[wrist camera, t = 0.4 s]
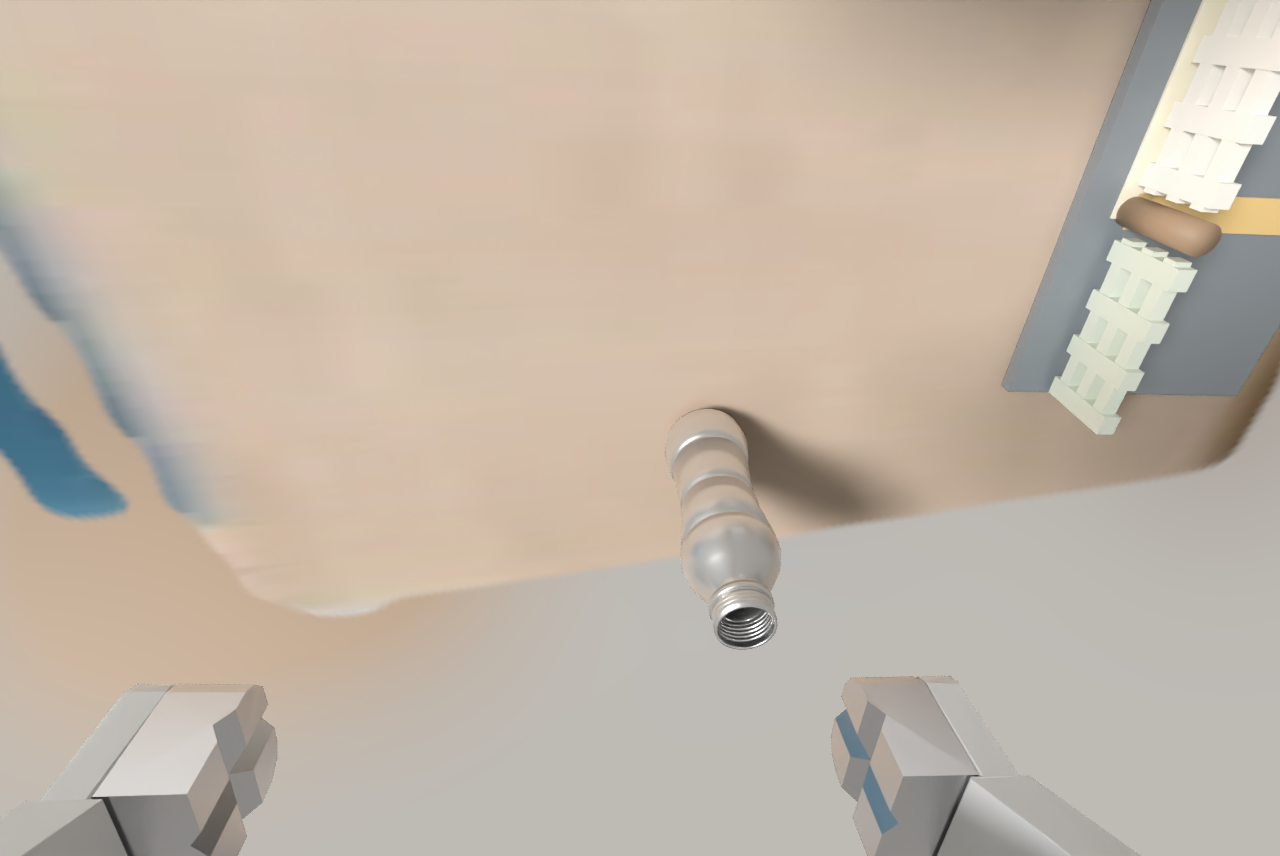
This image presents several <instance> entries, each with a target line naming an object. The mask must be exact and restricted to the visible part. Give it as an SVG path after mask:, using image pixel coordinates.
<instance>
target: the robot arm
mask: <svg viewBox="0 0 1280 856" xmlns="http://www.w3.org/2000/svg"><path fill="white" fill-rule="evenodd" d="M841 697H842V700H843V702H844V704H845V707H846V710H845V711H844V712H842V713H841V714H840V715H839V716H837V717H836V718H835V721H834V726H833V730H832V735H831V738H832V756H833V761H834V766H835V770H836V773H837V776H838V779H839V782H840V784H841V787H842V788H843V789H844V790H845V791H846V792H847V793H848V794H850V795H851V796H852V797H853V798H854V799H855V800H856V801H857V802H858V803H857V806H856V809H855V812H854V816H853V819H854V822H855V825H856V827H857V830H858V833H859V835H860V838H861V840H862V843H863V846H864V848H865V850H866V854H867V856H1140V855H1139V854H1138V853H1136V852H1135V851H1134V850H1132V849H1131V848H1129V847H1128V846H1126V845H1125V844H1124V843H1122V842H1121V841H1119V840H1118V839H1117V838H1115V837H1114V836H1113V835H1111V834H1110V833H1109V832H1107V831H1106V830H1104V829H1103V828H1101V827H1100V826H1099V825H1097V824H1096V823H1095V822H1093V821H1092V820H1090V819H1089V818H1088V817H1086V816H1085V815H1083V814H1082V813H1081V812H1079V811H1078V810H1077V809H1075V808H1074V807H1072V806H1071V805H1070V804H1068V803H1067V802H1065V801H1064V800H1063V799H1061V798H1060V797H1058V796H1057V795H1056V794H1054V793H1053V792H1051V791H1050V790H1049V789H1047V788H1046V787H1045V786H1043V785H1042V784H1040V783H1039V782H1038V781H1036V780H1035V779H1033V778H1032V777H1031V776H1019V775H1018V773H1017V772H1016V770H1015V768H1014V767H1013V765H1012V764H1011V762H1010V761H1009V759H1008V758H1007V756H1006V755H1005V753H1004V752H1003V750H1002V748H1001V747H1000V745H999V744H998V742H997V741H996V739H995V738H994V736H993V735H992V733H991V732H990V730H989V728H988V727H987V726H986V724H985V722H984V721H983V719H982V718H981V716H980V715H979V713H978V712H977V710H976V708H975V707H974V705H973V704H972V702H971V701H970V699H969V698H968V696H967V695H966V693H965V691H964V690H963V688H962V687H961V685H960V684H959V683H958V681H956V680H955V679H954V678H952V677H951V676H937V677H936V676H929V677H912V676H910V677H870V678H869V677H866V678H850V679H849V680H848V681H847V682H846V683H845V686H844V689H843V693H842V696H841ZM267 705H268V702H267V699H266V696H265V692H264V689H263V687H262V686H258V685H230V684H228V685H227V684H225V685H224V684H137V685H135V686H134V687H132V688H130V689H129V690H127V691H126V692H125V693H123V695H122V696H121V697H120V698H119V699H118V701H117V702H116V703H115V705H114V706H113V707H112V709H111V710H110V711H109V712H108V713H107V715H106V716H105V717H104V719H103V720H102V721H101V722H100V724H99V725H98V726H97V728H96V729H95V730H94V731H93V733H92V734H91V735H90V737H89V738H88V739H87V740H86V742H85V743H84V744H83V745H82V747H81V748H80V749H79V750H78V752H77V753H76V754H75V756H74V757H73V758H72V759H71V761H70V762H69V763H68V765H67V766H66V767H65V769H64V770H63V771H62V772H61V773H60V775H59V776H58V777H57V779H56V780H55V781H54V783H53V784H52V785H51V786H50V788H49V789H48V790H47V791H46V793H45V794H44V795H43V797H42V798H41V799H40V800H34V801H25V802H23V803H22V804H20V805H19V806H17V807H16V808H14V809H13V810H11V811H9V812H8V813H6V814H5V815H3V816H2V817H0V856H238V854H239V852H240V850H241V847H242V846H243V844H244V841H245V839H246V837H247V835H246V832H245V828H244V825H243V821H242V819H243V818H245V816H247V815H248V814H249V813H251V812H252V811H253V810H254V809H255V808H256V807H258V806H259V805H260V804H261V803H262V802H263V800H264V798H265V795H266V793H267V791H268V788H269V786H270V784H271V782H272V778H273V773H274V769H275V765H276V761H277V737H276V733H275V729H274V727H273V726H272V725H270V724H269V723H268V722H267V721H265V720H264V719H263V718H261V717H262V715H263V713H264V711H265V709H266V707H267Z"/></svg>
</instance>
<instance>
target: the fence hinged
mask: <svg viewBox="0 0 1280 856" xmlns="http://www.w3.org/2000/svg"><path fill="white" fill-rule="evenodd" d="M1146 244H1147V242H1145V241H1142V240H1140V239H1138V238H1123V239H1122V240H1114V243H1113V245H1112V247H1111V250H1110V252H1109V254H1108V256H1107V259H1106V260H1107V261H1109V262H1111V266H1110V268H1109V270H1108V273H1107V275H1106V277H1105V279H1104V282H1103V284H1102V286H1101V288H1100V289H1093V291H1092V293H1091V295H1090V298H1089V300H1088V302H1087V305H1086V307H1085V308H1087V309H1089V310H1090V313H1089V316H1088V318H1087V320H1086V322H1085V325H1084V327H1083V329H1082V331H1081V334H1073V337H1072V339H1071V341H1070V344H1069V346H1068V348H1067V351H1066V352H1068V353H1069V354H1070V355H1071V356H1070V359H1069V361H1068V363H1067V365H1066V368H1065V370H1064V372H1063V375H1062V376H1055V378H1054V380H1053V383H1052V385H1051V387H1050V390H1049V393H1050V394H1051V395H1052V396H1054V397H1055V398H1056V399H1057V400H1058V401H1059V402H1060V403H1062V404H1063V405H1064V406H1065V407H1066V408H1067V409H1068V410H1069V411H1071V412H1072V413H1073V414H1074V415H1075V416H1076V417H1077V418H1079V419H1080V420H1081V421H1082V422H1083V423H1084V424H1085V425H1086V426H1088V427H1089V428H1090V429H1091V430H1092V431H1093V432H1094V433H1096V434H1103V435H1113V433H1114V431H1115V430H1116V428H1117V426H1118V424H1119V422H1120V420H1121V417H1120V416H1119V415H1118V414H1116V412H1117V410H1118V408H1119V406H1120V404H1121V402H1122V400H1123V398H1124V396H1125V394H1126V392H1127V391H1136V389H1137V387H1138V385H1139V383H1140V381H1141V379H1142V377H1143V375H1144V372H1143V371H1141V370H1140V369H1139V367H1140V365H1141V363H1142V361H1143V359H1144V357H1145V355H1146V353H1147V351H1148V349H1149V347H1150V345H1151V344H1160V342H1161V340H1162V338H1163V337H1164V335H1165V333H1166V331H1167V329H1168V327H1169V325H1170V324H1169V323H1168V322H1166V321H1164V318H1165V316H1166V314H1167V312H1168V310H1169V308H1170V306H1171V304H1172V302H1173V300H1174V298H1175V296H1176V294H1177V292H1187V290H1188V288H1189V286H1190V284H1191V282H1192V280H1193V278H1194V277H1195V275H1196V273H1197V271H1198V270H1196V269H1194V268H1191V265H1192V262H1190V261H1187V260H1185V259H1183V258H1181V257H1167V255H1168V253H1169V252H1167V251H1165V250H1163V249H1160V248H1158V247H1146Z"/></svg>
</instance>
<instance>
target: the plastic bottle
mask: <svg viewBox="0 0 1280 856" xmlns="http://www.w3.org/2000/svg"><path fill="white" fill-rule="evenodd" d="M665 457H666V462H667V465H668V468H669V470H670V473H671V475H672V478H673V479H674V481H675V484H676V487H677V491H678V494H679V498H680V503H681V516H682V538H681V554H680V556H681V568H682V572H683V575H684V576H685V579H686V581H687V582H688V584H689V586H690V588H691V589H692V590H693V591H694V593H695V594H697V595H698V596H699V597H700V598H702V599H703V600H704V601H705V602H706V603H708V604H709V613H710V617H711V619H712V621H713V626H714V632H715V635H716V637H717V639H718V640H719V641H720V642H721V643H722V644H723V645H725V646H727V647H729V648H733V649H739V650H741V649H743V650H745V649H752V648H755V647H758V646H761V645H763V644H764V643H766V642H767V641H769V640H770V639H771V638H772V636H773V635H774V633H775V631H776V628H777V618H776V614H775V611H774V601H773V597H772V594H771V592H770V591H771V590H772V588H773V586H774V584H775V582H776V579H777V577H778V575H779V572H780V566H781V548H780V545H779V542H778V540H777V538H776V535H775V533H774V531H773V529H772V528H771V526H770V524H769V522H768V520H767V519H766V517H765V515H764V513H763V511H762V510H761V508H760V506H759V503H758V500H757V498H756V495H755V493H754V490H753V488H752V485H751V479H750V473H749V468H748V459H749V458H748V447H747V440H746V437H745V435H744V433H743V432H742V430H741V428H740V427H739V425H738V424H737V423H736V421H735V420H734V419H733V418H732V417H731V416H729V415H728V414H726V413H724V412H722V411H719V410H714V409H700V410H695V411H692V412H689V413H688V414H686V415H684V416H682V417H681V418H680V419H679V420H677V421H676V423H675V424H674V425H673V426H672V428H671V430H670V431H669V434H668V437H667V442H666V451H665Z"/></svg>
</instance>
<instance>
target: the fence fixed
mask: <svg viewBox="0 0 1280 856" xmlns="http://www.w3.org/2000/svg"><path fill="white" fill-rule="evenodd" d="M1192 62H1194V63H1200V64H1199V66H1198V69H1197V71H1196V73H1195V75H1194V78H1193V80H1192V82H1191V85H1190V87H1189V89H1188V91H1187V94H1186V96H1185V98H1184V100H1183V102H1176V101H1175V103H1174V105H1173V107H1172V109H1171V112H1170V114H1169V116H1168V119H1167V121H1166V123H1165V127H1169V128H1171V130H1170V132H1169V134H1168V137H1167V139H1166V141H1165V143H1164V146H1163V148H1162V150H1161V152H1160V155H1159V157H1158V159H1157V162H1148V165H1147V167H1146V169H1145V171H1144V174H1143V176H1142V178H1141V181H1140V183H1139V185H1141V186H1144V187H1145V189H1144V192H1146V193H1149V194H1152V195H1161V196H1166V200H1169V201H1172V202H1175V203H1182V204H1191V205H1190V207H1189V208H1192V209H1194V210H1197V211H1200V212H1213V213H1218V211H1219V210H1220V209H1221V210H1229V209H1230V207H1231V205H1232V203H1233V201H1234V199H1235V197H1236V195H1237V193H1238V191H1239V189H1240V187H1241V185H1242V184H1238V183H1235V182H1234V180H1235V178H1236V176H1237V174H1238V172H1239V170H1240V168H1241V166H1242V164H1243V162H1244V160H1245V158H1246V156H1247V154H1248V152H1249V151H1250V149H1251V147H1252V145H1253V144H1258V145H1263V143H1264V141H1265V139H1266V137H1267V135H1268V133H1269V131H1270V129H1271V127H1272V125H1273V123H1274V122H1275V120H1276V118H1277V117H1276V116H1270V115H1268V113H1269V111H1270V109H1271V107H1272V105H1273V103H1274V101H1275V99H1276V97H1277V95H1278V93H1279V92H1280V0H1228V1H1227V3H1226V5H1225V7H1224V10H1223V12H1222V14H1221V17H1220V19H1219V21H1218V23H1217V26H1216V28H1215V30H1214V32H1213V35H1204V36H1203V38H1202V41H1201V43H1200V45H1199V47H1198V50H1197V52H1196V54H1195V57H1194V59H1193V61H1192ZM1115 221H1116V223H1117V224H1118V225H1120V226H1122V227H1125V228H1127V229H1129V230H1132V231H1134V232H1136V233H1139V234H1141V235H1143V236H1145V237H1148V238H1150V239H1152V240H1155V241H1157V242H1159V243H1161V244H1164V245H1166V246H1168V247H1171V248H1173V249H1175V250H1178V251H1180V252H1182V253H1184V254H1187V255H1189V256H1191V257H1200V256H1203V255H1205V254H1207V253H1209V252H1210V251H1211V250H1213V249H1214V248H1215V247H1216V245H1217V244H1218V242H1219V241H1220V238H1221V234H1222V232H1221V228H1220V227H1219V226H1218V225H1217V224H1214V223H1211V222H1209V221H1206V220H1203V219H1200V218H1198V217H1195V216H1192V215H1189V214H1187V213H1184V212H1181V211H1178V210H1176V209H1173V208H1170V207H1168V206H1165V205H1162V204H1159V203H1157V202H1154V201H1151V200H1148V199H1146V198H1143V197H1139V196H1137V197H1132V198H1130V199H1128V200H1126V201H1125V202H1124V203H1123V204H1122V205H1121V206H1120V208H1119V209H1118V211H1117V214H1116V219H1115Z"/></svg>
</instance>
